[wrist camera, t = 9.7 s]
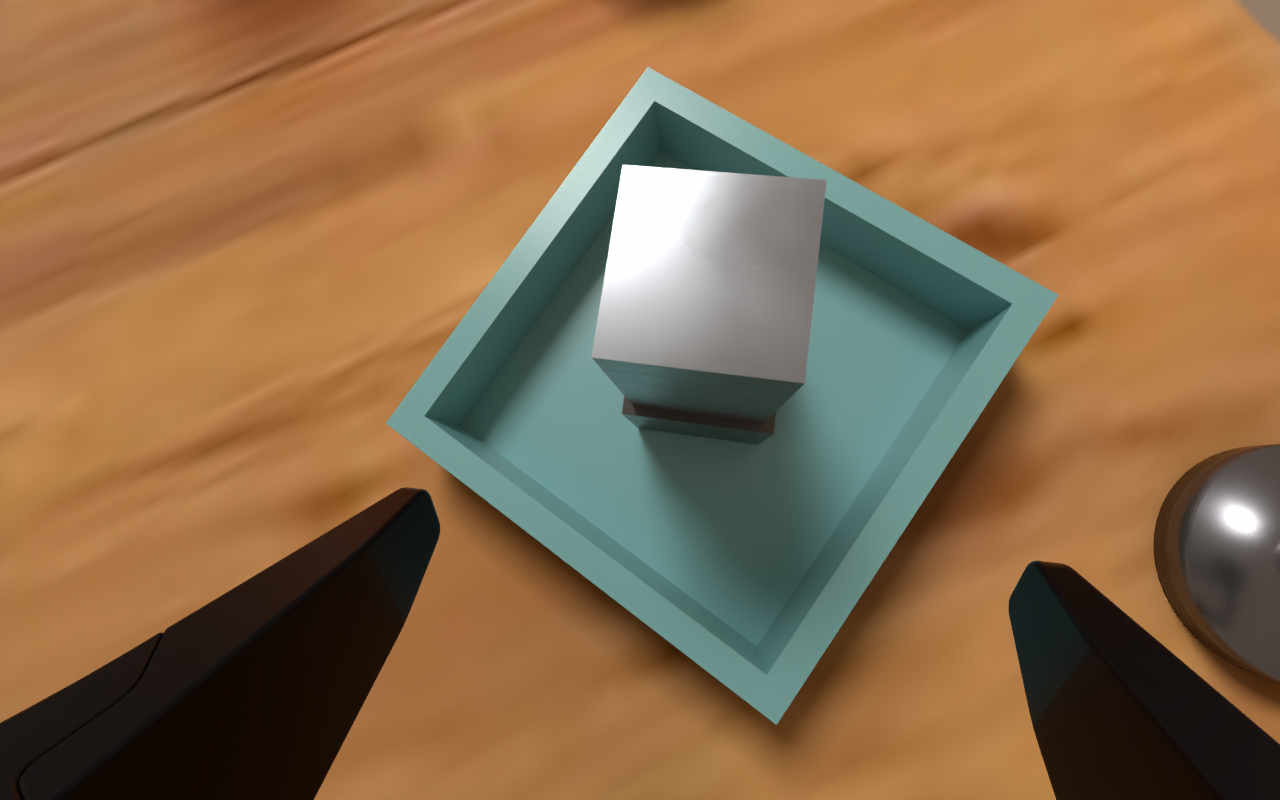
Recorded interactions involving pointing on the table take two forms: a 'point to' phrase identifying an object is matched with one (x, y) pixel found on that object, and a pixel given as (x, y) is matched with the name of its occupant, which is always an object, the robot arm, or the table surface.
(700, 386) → the strut
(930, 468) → the bin
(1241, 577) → the stud plate
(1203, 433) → the table surface
